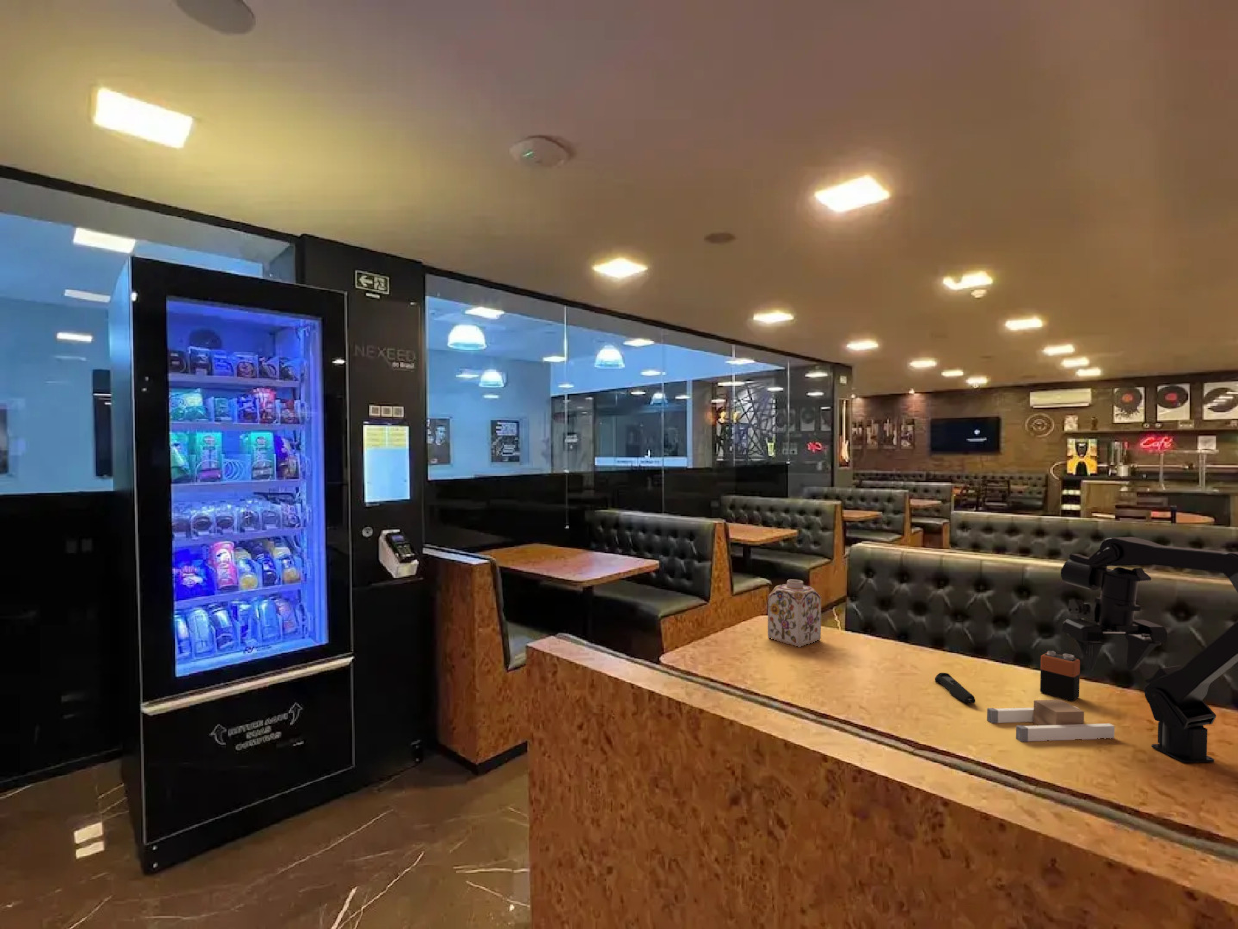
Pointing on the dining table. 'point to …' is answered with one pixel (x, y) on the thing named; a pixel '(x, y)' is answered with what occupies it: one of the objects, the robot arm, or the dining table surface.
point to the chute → (1047, 726)
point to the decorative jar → (794, 614)
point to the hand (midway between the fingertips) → (1109, 669)
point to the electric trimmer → (954, 688)
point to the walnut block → (1056, 713)
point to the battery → (1060, 675)
